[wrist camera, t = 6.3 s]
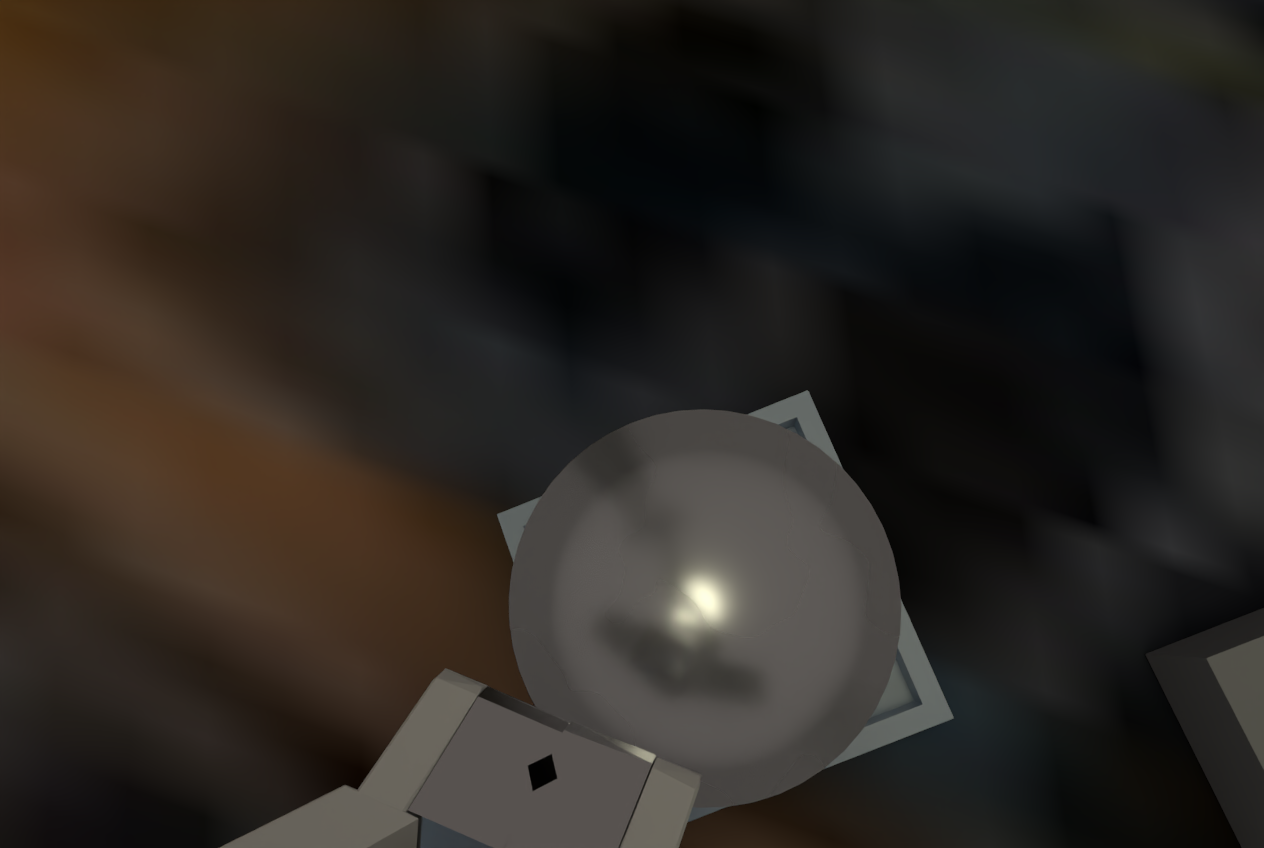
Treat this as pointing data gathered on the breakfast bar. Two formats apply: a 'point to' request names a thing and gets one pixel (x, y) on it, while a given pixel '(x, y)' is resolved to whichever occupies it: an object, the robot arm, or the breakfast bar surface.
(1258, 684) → the button housing
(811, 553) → the cylinder
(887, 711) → the tray
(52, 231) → the breakfast bar surface
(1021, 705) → the breakfast bar surface
